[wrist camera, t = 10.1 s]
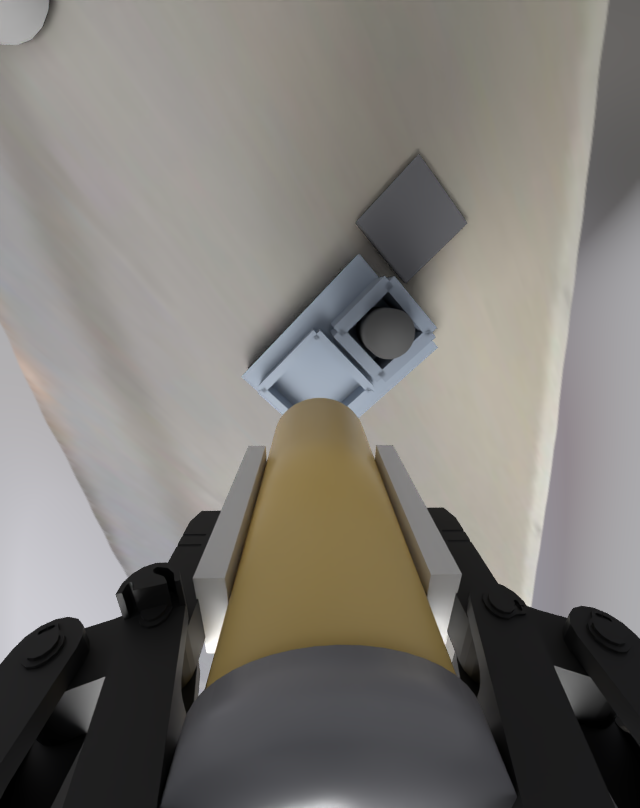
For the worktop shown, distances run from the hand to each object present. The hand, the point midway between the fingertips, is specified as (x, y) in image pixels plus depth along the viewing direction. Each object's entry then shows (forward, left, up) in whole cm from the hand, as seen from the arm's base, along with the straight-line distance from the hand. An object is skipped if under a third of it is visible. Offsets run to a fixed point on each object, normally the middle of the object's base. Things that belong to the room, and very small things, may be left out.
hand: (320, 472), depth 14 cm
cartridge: (0, 0, -3) cm, 3 cm away
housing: (-3, 0, -19) cm, 19 cm away
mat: (-16, -4, -19) cm, 25 cm away
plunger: (-7, 0, -15) cm, 17 cm away
